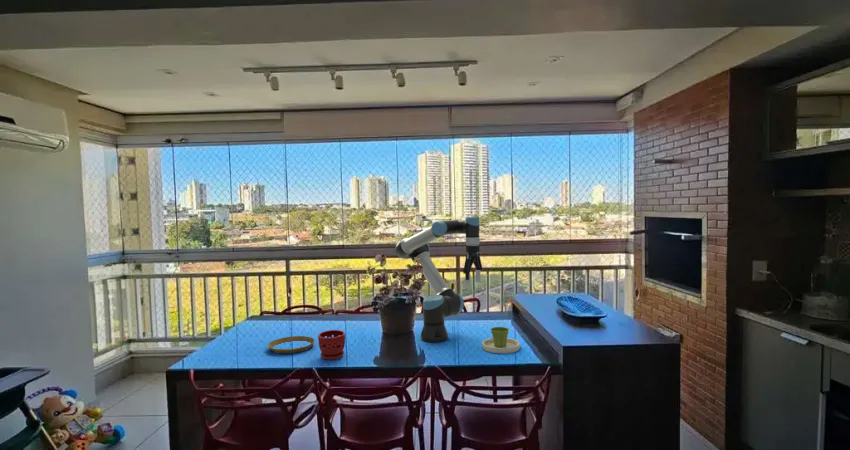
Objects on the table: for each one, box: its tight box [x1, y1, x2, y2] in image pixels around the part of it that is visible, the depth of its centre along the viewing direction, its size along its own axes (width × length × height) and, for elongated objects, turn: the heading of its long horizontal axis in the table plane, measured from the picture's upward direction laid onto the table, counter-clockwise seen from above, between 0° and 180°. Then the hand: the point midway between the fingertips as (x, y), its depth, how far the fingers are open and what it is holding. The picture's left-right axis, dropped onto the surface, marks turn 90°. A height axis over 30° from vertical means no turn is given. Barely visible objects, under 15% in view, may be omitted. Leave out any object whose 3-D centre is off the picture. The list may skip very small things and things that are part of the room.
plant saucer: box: [267, 335, 316, 354], centre depth 238 cm, size 24×24×3 cm
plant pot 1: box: [317, 329, 346, 361], centre depth 220 cm, size 13×13×12 cm
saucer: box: [481, 337, 521, 355], centre depth 226 cm, size 19×19×2 cm
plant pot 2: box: [490, 326, 510, 348], centre depth 226 cm, size 9×9×9 cm
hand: (473, 283), depth 241 cm, fingers open, 13 cm apart
